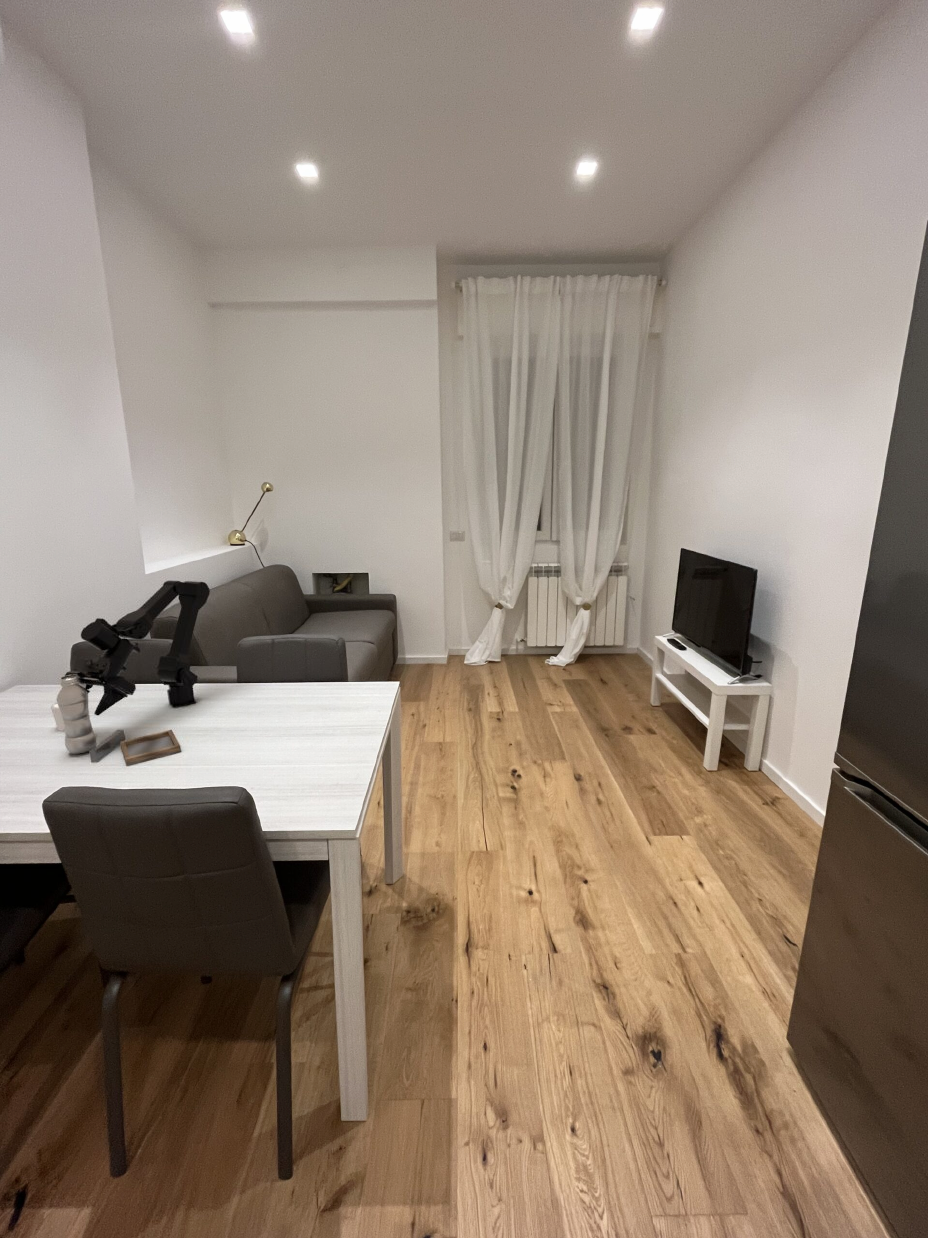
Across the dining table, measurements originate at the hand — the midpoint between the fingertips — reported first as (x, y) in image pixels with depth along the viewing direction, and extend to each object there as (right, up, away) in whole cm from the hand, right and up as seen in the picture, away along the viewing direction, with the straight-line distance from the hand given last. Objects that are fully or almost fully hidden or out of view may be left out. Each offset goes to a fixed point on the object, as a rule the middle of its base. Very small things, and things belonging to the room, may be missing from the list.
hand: (82, 713), depth 139 cm
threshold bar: (+6, -10, +1) cm, 12 cm away
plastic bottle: (0, -10, +1) cm, 10 cm away
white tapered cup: (-14, -7, +15) cm, 22 cm away
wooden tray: (+17, -10, +1) cm, 19 cm away
